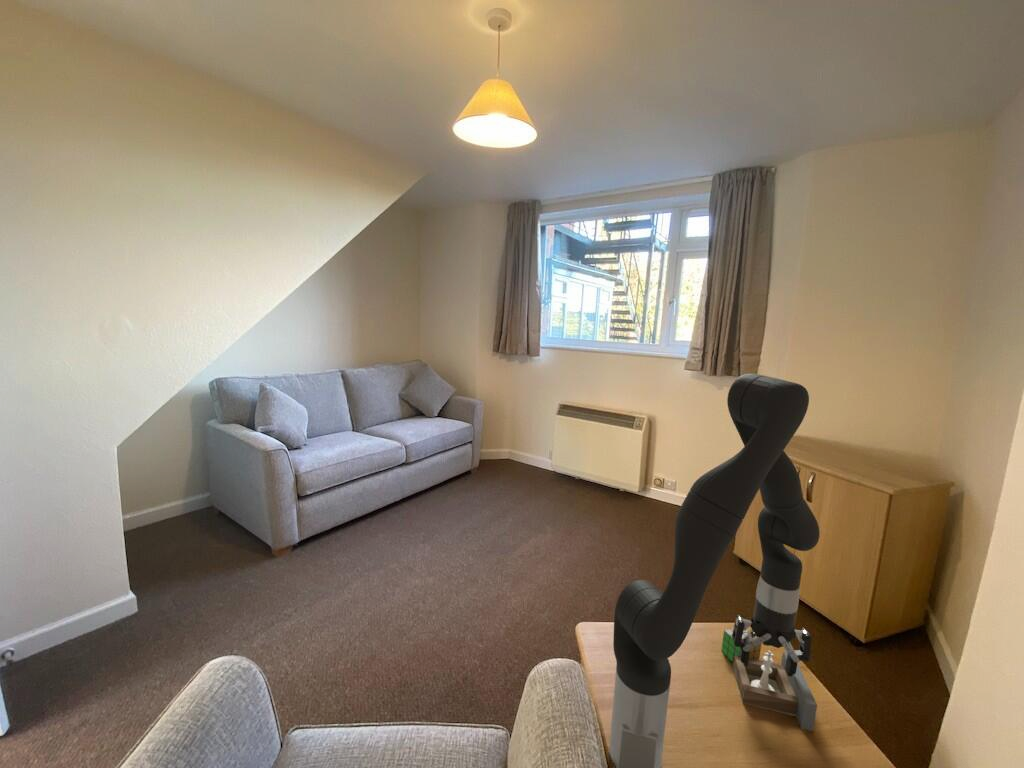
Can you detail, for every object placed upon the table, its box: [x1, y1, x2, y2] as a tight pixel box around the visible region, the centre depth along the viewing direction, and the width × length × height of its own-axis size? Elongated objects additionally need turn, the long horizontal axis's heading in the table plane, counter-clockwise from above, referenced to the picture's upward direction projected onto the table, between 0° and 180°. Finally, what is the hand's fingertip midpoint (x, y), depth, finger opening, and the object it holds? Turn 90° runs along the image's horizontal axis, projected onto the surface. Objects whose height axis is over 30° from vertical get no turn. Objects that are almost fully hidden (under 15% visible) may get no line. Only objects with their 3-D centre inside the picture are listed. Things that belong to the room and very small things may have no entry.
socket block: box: [732, 655, 798, 717], centre depth 96 cm, size 10×10×4 cm
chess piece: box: [750, 649, 775, 691], centre depth 95 cm, size 5×5×10 cm
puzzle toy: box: [721, 627, 762, 663], centre depth 105 cm, size 6×6×6 cm
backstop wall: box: [780, 650, 818, 732], centre depth 94 cm, size 14×2×6 cm, turn 164°
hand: (766, 668), depth 95 cm, fingers open, 8 cm apart
